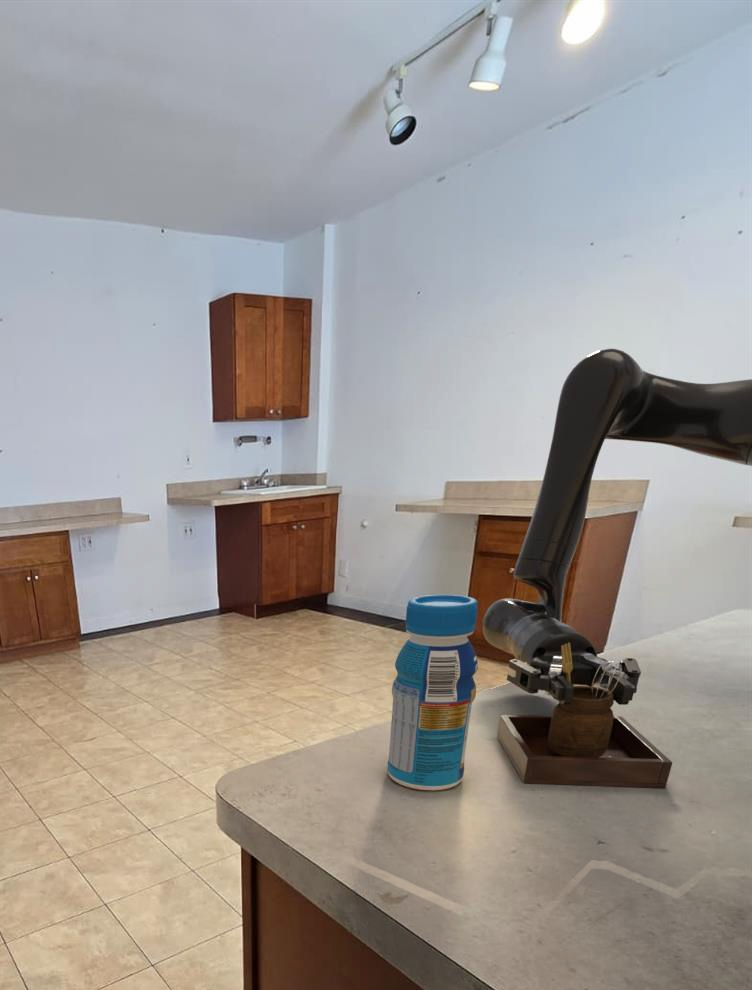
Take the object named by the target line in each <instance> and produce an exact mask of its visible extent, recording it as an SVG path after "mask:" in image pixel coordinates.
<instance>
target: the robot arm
mask: <svg viewBox="0 0 752 990" xmlns="http://www.w3.org/2000/svg"><path fill="white" fill-rule="evenodd" d="M605 440H615V441H630V442H643V443H652V444H653V443H654V444H660V445H667V446H670V447H671V446H672V447H676V448H679V449H682V450H685V451H689V452H693V453H695V454H699V455H703V456H707V457H710V458H715V459H719V460H723V461H727V462H731V463H734V464H735V463H736V464H739V465H744V466H749V467H752V378H751V379H750V378H749V379H741V380H733V381H725V382H716V383H696V382H690V381H683V380H678V379H673V378H669V377H664V376H660V375H657V374H654V373H653V374H652V373H650V372H647V371H645V370H644V369H642V368H641V366H640V365H639V363H637V361H636V360H635V359H634V358H633V356H631V355H630V354H629V353H627V352H625V351H624V350H620V349H617V348H603V349H600V350H597V351H595V352H592V353H591V354H589V355H587V356H585V357H584V358H583V359H582V360H580V361H579V362H578V363H577V364H575V366H574V367H573V368H572V369H571V371H570V372H569V374H568V375H567V377H566V379H565V380H564V383H563V384H562V387H561V391H560V395H559V399H558V404H557V409H556V415H555V421H554V427H553V433H552V440H551V443H550V449H549V453H548V457H547V461H546V465H545V471H544V474H543V478H542V482H541V486H540V490H539V494H538V497H537V500H536V502H535V503H536V504H535V506H534V510H533V513H532V516H531V518H530V522H529V524H528V528H527V531H526V533H525V535H524V540H523V542H522V545H521V548H520V550H519V554H518V557H517V560H516V563H515V566H514V570H513V577H514V578H513V579H515V580H516V581H518V582H520V583H521V584H524V585H527V586H529V587H531V588H533V589H534V590H535V591H536V593H537V596H538V603H537V602H532V601H526V600H522V599H521V600H520V599H516V598H510V597H509V598H501V599H498V600H497V601H494V602H493V603H492V604H491V605H490V606H489V607H488V608H487V609H486V610H485V611H486V612H485V613H484V616H483V618H482V624H481V626H482V627H481V628H482V633H483V637H484V639H485V640H486V641H487V643H488V644H490V645H491V646H493V647H494V648H496V649H499V650H501V651H503V652H506V653H508V654H510V655H512V656H513V657H514V659H509V662H508V667H507V677H506V681H508V682H509V683H511V684H512V685H514V686H515V687H518V688H519V689H521V690H523V691H524V692H526V693H527V694H531V695H533V694H538V693H539V691H544V695H547V696H550V697H552V698H553V699H554V700H555V701H558V702H559V701H560V702H561V703H562V704H571V701H572V695H573V690H574V687H573V686H590V687H592V686H593V687H597V688H602V689H605V690H608V691H611V690H612V689H614V690H613V691H611V693H612V694H613V696H614V702H616V704H618V705H619V706H621V705H622V706H624V705H625V706H626V705H629V703H630V702H631V701H633V697H634V694H637V690H638V684H639V680H640V677H641V674H642V670H641V668H640V666H639V663H638V661H637V659H636V658H633V657H626V658H623V660H620V661H619V662H618V663H619V664H620V665H621V666H620V665H619V664H618V663H617V664H618V665H619V666H620V667H619V666H618V665H616V663H615V665H614V663H612V662H609V664H608V663H607V662H606V661H608V660H607V659H606V658H604V657H603V658H602V657H599V656H598V655H597V652H596V649H595V647H594V645H593V643H592V642H591V641H590V640H589V639H588V638H586V636H584V635H582V634H581V633H580V632H579V631H577V630H575V629H574V628H573V627H572V626H571V625H568V624H567V623H564V622H562V619H563V617H562V616H563V600H564V599H563V598H564V592H565V591H564V590H565V585H566V579H567V575H568V572H569V569H570V566H571V564H572V561H573V558H574V555H575V553H576V551H577V547H578V544H579V542H580V538H581V536H582V532H583V529H584V526H585V525H584V524H585V520H586V517H587V516H586V515H587V509H588V503H589V496H590V490H591V484H592V479H593V475H594V471H595V468H596V464H597V461H598V458H599V455H600V453H601V450H602V447H603V445H604V442H605ZM568 643H570V647H571V656H572V664H573V669H572V671H571V673H570V678H571V683H570V682H569V681H568V680H567V678H566V674H565V673H564V672H563V669H562V651H561V646H562V645H565V644H567V649H568ZM564 652H565V647H564ZM604 662H605V663H606V664H605V663H604ZM602 663H603V664H604V665H603V664H602ZM611 663H612V664H611ZM601 664H602V665H603V666H602V665H601ZM607 664H608V665H607ZM600 665H601V666H600ZM599 666H600V667H599ZM606 666H607V667H608V666H609V667H608V668H607V667H606ZM615 667H616V669H615V672H614V668H615ZM598 668H599V670H598ZM605 668H606V669H605ZM621 668H622V672H621V675H620V669H621ZM597 670H598V672H597ZM604 670H606V671H604ZM596 672H597V674H596ZM603 672H605V673H603ZM613 672H614V675H613ZM595 674H596V676H595ZM602 674H604V675H603V677H602ZM612 675H613V678H611V677H612ZM619 676H620V678H619ZM594 677H595V678H594ZM601 677H602V679H601ZM618 678H619V680H618ZM600 679H601V681H600ZM610 679H612V680H610ZM593 680H594V682H593ZM609 681H611V682H609ZM617 681H618V683H617ZM592 682H593V684H592ZM599 682H600V684H599ZM608 683H610V685H609V684H608ZM616 683H617V685H615V684H616ZM598 685H599V687H598ZM607 685H608V686H609V687H608V686H607ZM614 686H616V687H614ZM606 687H607V688H608V689H607V688H606ZM613 687H614V688H613Z"/></svg>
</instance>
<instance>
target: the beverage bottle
mask: <svg viewBox="0 0 752 990" xmlns="http://www.w3.org/2000/svg"><path fill="white" fill-rule="evenodd" d="M478 609H479V606H478V600H477V599H476V598H475V597H471V596H466V595H461V594H460V595H459V594H429V595H428V594H427V595H422V596H416V597H413V598H411V599H409V600H408V602H407V606H406V612H405V629H406V630H405V631H406V634H408V635H409V636H410V637H409V638H408V639H407V640H406V641H405V643H404V644H403V645H402V647H401V649H400V651H399V652H398V654H397V657H396V659H395V662H394V668H395V670H396V672H397V673H396V676H395V678H394V680H393V682H392V684H391V685H392V687H391V695H392V710H391V723H390V740H389V752H388V760H387V766H386V769H387V770H386V771H387V774H388V776H389V778H390V779H392V780H393V782H395V783H397V784H400V785H402V786H404V787H406V788H410V789H415V790H420V791H442V790H447V789H450V788H453V787H456V786H457V785H459V784H460V783H461V781H462V780H463V778H464V772H465V756H466V747H467V741H468V735H469V734H468V733H469V726H470V720H471V719H470V718H471V713H472V706H473V702H474V701H475V699H476V695H477V684H476V682H475V680H474V675H475V674H476V673H477V672H478V670H479V669H478V668H479V662H478V661H479V660H478V656H477V653H476V651H475V649H474V647H473V644H472V643H471V641H470V639H469V638H468V637H469V636H471V635H473V633H474V631H475V629H476V625H477V618H478Z"/></svg>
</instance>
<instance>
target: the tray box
mask: <svg viewBox="0 0 752 990" xmlns="http://www.w3.org/2000/svg"><path fill="white" fill-rule="evenodd" d="M551 719H552V715H551V714H550V715H549V714H547V715H545V714H544V715H541V714H539V715H538V714H500V715H499V720H498V727H497V734H496V737H497V739H498V741H499V743H500V744H501V745H502V748H503V750H504V751H505V753H506V755H507V756H508V758H509V760H510V762H511V764H512V766H513V767H514V769H515V771H516V772H517V774H518V776H519V778H520V780H521V781H522V783H523V784H537V785H539V784H540V785H566V786H567V785H571V786H593V787H594V786H597V787H623V788H624V787H625V788H650V789H651V788H653V789H666V788H667V783H668V781H669V776H670V774H671V769H672V766H673V762H672V760H671V759H669V758H668V757H667V756H666V755H665V754H664V753H663V752H662V751H660V750H659V748H657V747H656V746H655V745H654V744H653V743H652V742H650V740H648V739H647V738H646V737H645V736H644V735H643V734H641V732H639V730H637V728H635V727H634V726H633V725H632V724H631V723H630V722H628V721H627V720H626V719H625V718H624V717H623V716H614V715H613V724H612V729H611V734H610V738H609V742H608V746H607V749H606V752H605V753H604V754H603V755H602V756H601V757H598V758H596V757H563V756H560V755H558V754H556V753H554V752H552V751H551V750H550V749H549V747H548V736H549V730H550V724H551Z"/></svg>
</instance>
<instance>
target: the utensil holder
mask: <svg viewBox="0 0 752 990" xmlns="http://www.w3.org/2000/svg"><path fill="white" fill-rule="evenodd" d="M564 647H565V652H564ZM561 651H562V669H563V672H564V673H565V674H566V678H567V680H568V681H569V682H570V683H571V678H570V673H571V671H572V669H573V664H572V656H571V647H570V643H568V649H567V644H565V645H562V646H561ZM606 662H607V663H608V664H609V663H611V664H614V665H615V664H616V665H618V664H619V663H620V662H617V661H614V660H607V661H606ZM604 663H605V662H604ZM602 664H603V663H602ZM602 664H601V665H602ZM605 664H606V663H605ZM608 664H607V665H608ZM601 665H600V666H601ZM603 665H604V664H603ZM603 665H602V666H603ZM619 665H620V664H619ZM619 665H618V666H619ZM600 666H599V667H600ZM620 666H621V665H620ZM620 666H619V667H620ZM606 667H607V666H606ZM608 667H609V666H608ZM608 667H607V668H608ZM605 669H606V668H605ZM615 669H616V667H615V668H614V672H615ZM598 670H599V668H598ZM598 670H597V672H598ZM604 671H606V670H604ZM597 672H596V674H597ZM614 672H613V675H614ZM621 672H622V668H621V669H620V675H621ZM603 673H605V672H603ZM596 674H595V676H596ZM603 675H604V674H602V677H603ZM613 675H612V677H611V678H613ZM602 677H601V679H602ZM594 678H595V677H594ZM619 678H620V676H619ZM619 678H618V680H619ZM601 679H600V681H601ZM610 680H612V679H610V678H609V682H611V681H610ZM593 682H594V680H593ZM593 682H592V684H593ZM617 683H618V681H617ZM617 683H616V684H615V685H617ZM599 684H600V682H599ZM608 684H609V685H610V683H608ZM607 686H608V685H607ZM573 687H574V690H573V695H572V701H571V704H562V703H561V702H560V701H559V700H558V703H557V705H556V706H555V707H554V709H553V711H552V719H551V724H550V730H549V736H548V747H549V749H550V750H551V751H552V752H554V753H556V754H558V755H560V756H563V757H596V758H598V757H601V756H602V755H603V754H604V753H605V752H606V749H607V746H608V742H609V738H610V734H611V729H612V724H613V716H614V711H613V709H612V707H613V706H614V703H615V700H614V696H613V694H612V693H611V691H613V690H614V689H612V690H611V691H608V690H605V689H602V688H597V687H593V686H592V687H590V686H573ZM598 687H599V685H598ZM608 687H609V686H608ZM614 687H616V686H614ZM614 687H613V688H614ZM606 688H607V687H606ZM607 689H608V688H607Z"/></svg>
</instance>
